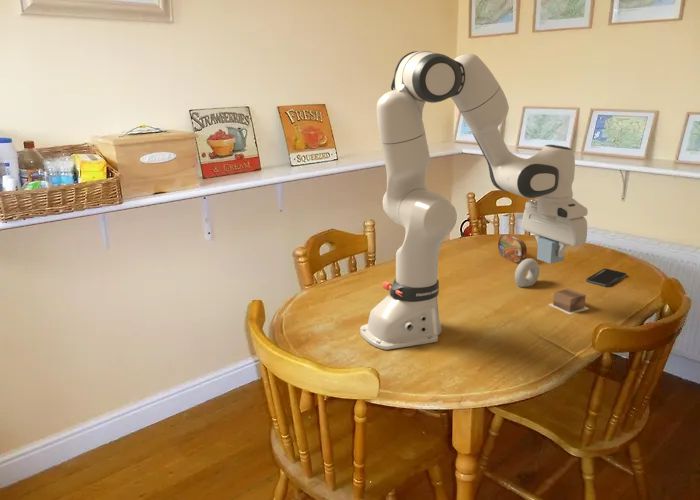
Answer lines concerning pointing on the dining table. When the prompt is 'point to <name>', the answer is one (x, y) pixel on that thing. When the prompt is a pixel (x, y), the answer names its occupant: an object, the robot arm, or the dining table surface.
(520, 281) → the donut
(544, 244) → the blue block
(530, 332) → the dining table surface
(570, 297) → the walnut block
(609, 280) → the phone
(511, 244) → the tin
